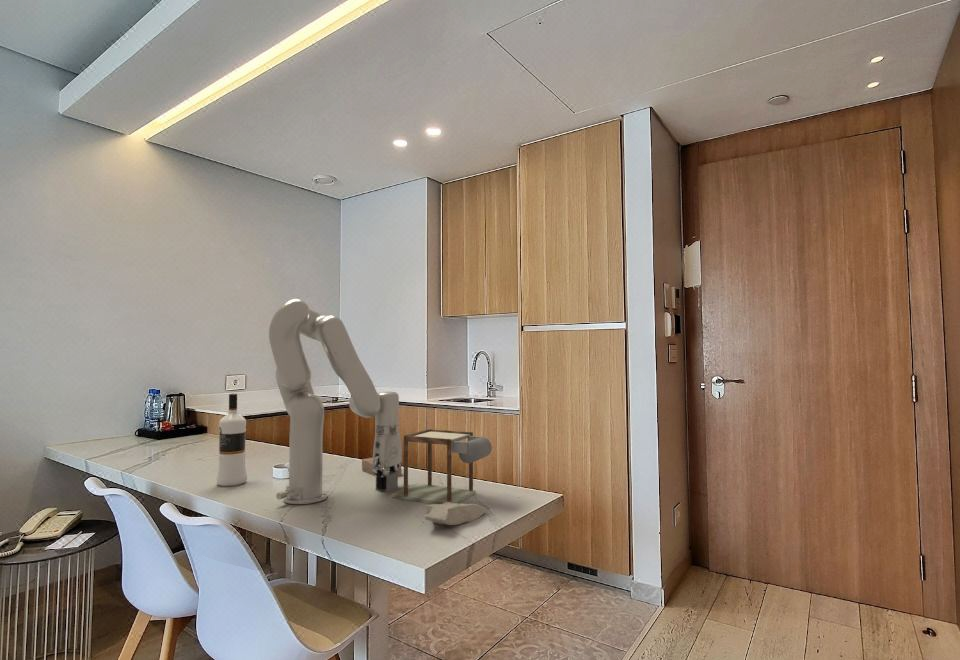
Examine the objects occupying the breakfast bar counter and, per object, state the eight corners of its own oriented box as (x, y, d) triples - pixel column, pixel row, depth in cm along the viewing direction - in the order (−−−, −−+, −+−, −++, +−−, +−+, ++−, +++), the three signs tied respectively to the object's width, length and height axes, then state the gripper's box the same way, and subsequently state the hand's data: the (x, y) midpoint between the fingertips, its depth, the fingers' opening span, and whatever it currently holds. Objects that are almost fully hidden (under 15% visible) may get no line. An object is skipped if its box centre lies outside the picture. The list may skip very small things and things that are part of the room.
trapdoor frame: (475, 493, 164) (475, 432, 165) (451, 506, 151) (451, 439, 151) (418, 485, 173) (418, 428, 174) (391, 497, 160) (391, 434, 161)
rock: (398, 526, 135) (442, 533, 126) (398, 507, 136) (441, 513, 127) (452, 512, 152) (494, 517, 143) (452, 495, 152) (493, 499, 143)
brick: (403, 476, 188) (403, 462, 188) (381, 479, 183) (381, 466, 183) (381, 468, 201) (381, 455, 201) (360, 471, 196) (360, 458, 196)
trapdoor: (493, 457, 160) (493, 435, 160) (475, 465, 149) (475, 441, 150) (430, 451, 170) (430, 430, 170) (409, 458, 159) (409, 436, 159)
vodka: (248, 484, 175) (249, 394, 176) (216, 488, 171) (218, 395, 172) (245, 478, 184) (246, 392, 185) (216, 482, 179) (217, 393, 180)
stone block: (388, 491, 167) (388, 475, 167) (375, 489, 169) (375, 473, 169) (397, 487, 171) (397, 472, 171) (385, 486, 173) (385, 470, 173)
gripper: (380, 435, 161) (380, 495, 161) (411, 427, 176) (411, 482, 176) (360, 433, 165) (360, 492, 164) (393, 426, 180) (392, 480, 179)
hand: (386, 486), depth 170 cm, fingers closed on stone block, 5 cm apart
